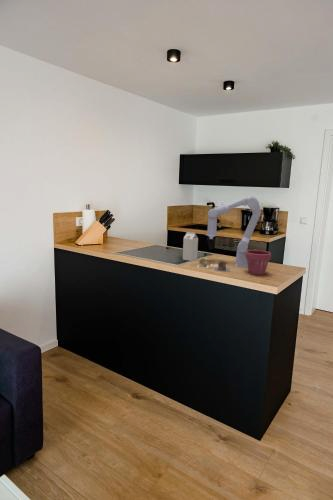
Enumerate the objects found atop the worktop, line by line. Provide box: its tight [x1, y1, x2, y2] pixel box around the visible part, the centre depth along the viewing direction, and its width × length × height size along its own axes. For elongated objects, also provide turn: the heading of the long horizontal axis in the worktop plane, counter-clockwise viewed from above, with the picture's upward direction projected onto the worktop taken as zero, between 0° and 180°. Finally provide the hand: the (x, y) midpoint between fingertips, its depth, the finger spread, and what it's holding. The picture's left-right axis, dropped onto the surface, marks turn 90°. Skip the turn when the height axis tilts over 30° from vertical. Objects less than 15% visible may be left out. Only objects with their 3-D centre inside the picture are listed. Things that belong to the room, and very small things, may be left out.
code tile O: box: [196, 264, 210, 269], centre depth 213 cm, size 7×7×1 cm
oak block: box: [198, 257, 208, 268], centre depth 212 cm, size 4×4×5 cm
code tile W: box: [210, 263, 218, 268], centre depth 216 cm, size 7×7×1 cm
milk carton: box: [182, 231, 199, 262], centre depth 230 cm, size 7×7×19 cm
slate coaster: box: [214, 267, 231, 273], centre depth 206 cm, size 9×9×1 cm
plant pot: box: [245, 249, 272, 276], centre depth 200 cm, size 14×14×13 cm
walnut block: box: [218, 259, 227, 270], centre depth 206 cm, size 4×4×5 cm
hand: (211, 248), depth 222 cm, fingers open, 7 cm apart
